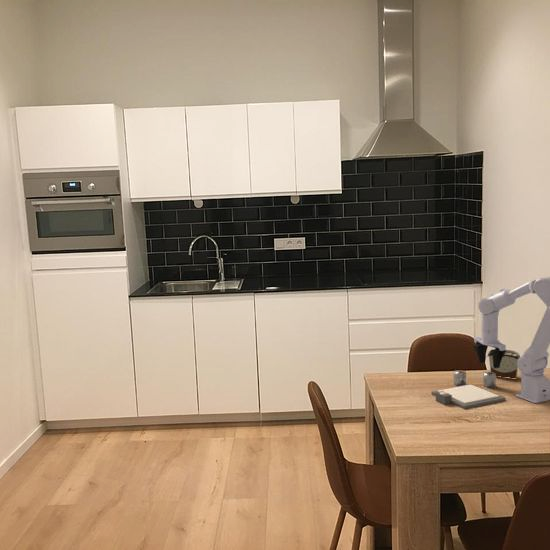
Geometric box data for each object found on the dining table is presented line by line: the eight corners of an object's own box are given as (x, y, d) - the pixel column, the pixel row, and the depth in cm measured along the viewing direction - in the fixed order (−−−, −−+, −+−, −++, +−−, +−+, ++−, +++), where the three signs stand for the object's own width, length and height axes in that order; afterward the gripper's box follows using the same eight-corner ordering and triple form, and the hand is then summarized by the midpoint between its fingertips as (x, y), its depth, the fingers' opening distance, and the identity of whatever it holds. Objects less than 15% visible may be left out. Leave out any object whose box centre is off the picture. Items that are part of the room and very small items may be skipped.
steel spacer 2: (498, 387, 233) (498, 373, 232) (488, 388, 231) (488, 375, 231) (489, 383, 237) (490, 370, 237) (480, 385, 236) (480, 372, 235)
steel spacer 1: (468, 385, 237) (468, 372, 236) (458, 387, 235) (458, 374, 234) (460, 382, 241) (460, 369, 240) (451, 384, 239) (451, 371, 238)
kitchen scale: (505, 400, 218) (505, 391, 218) (456, 410, 210) (456, 401, 210) (471, 386, 235) (471, 378, 234) (424, 395, 227) (424, 386, 227)
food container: (523, 375, 245) (523, 351, 244) (520, 380, 240) (520, 354, 239) (491, 372, 252) (491, 348, 251) (487, 376, 247) (487, 351, 245)
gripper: (512, 332, 226) (511, 368, 228) (484, 324, 240) (484, 359, 242) (496, 334, 224) (496, 371, 226) (469, 327, 237) (469, 361, 239)
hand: (489, 365), depth 233 cm, fingers open, 7 cm apart
